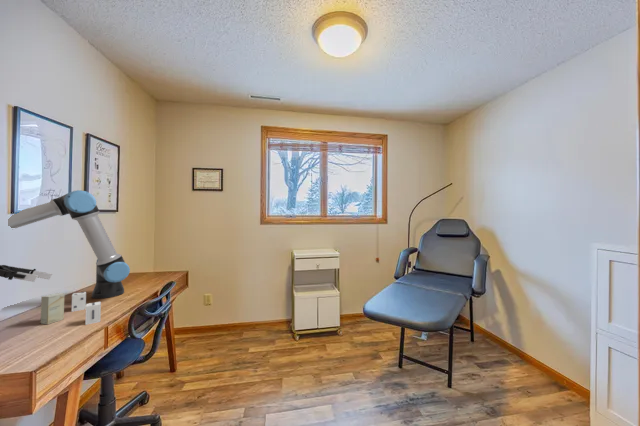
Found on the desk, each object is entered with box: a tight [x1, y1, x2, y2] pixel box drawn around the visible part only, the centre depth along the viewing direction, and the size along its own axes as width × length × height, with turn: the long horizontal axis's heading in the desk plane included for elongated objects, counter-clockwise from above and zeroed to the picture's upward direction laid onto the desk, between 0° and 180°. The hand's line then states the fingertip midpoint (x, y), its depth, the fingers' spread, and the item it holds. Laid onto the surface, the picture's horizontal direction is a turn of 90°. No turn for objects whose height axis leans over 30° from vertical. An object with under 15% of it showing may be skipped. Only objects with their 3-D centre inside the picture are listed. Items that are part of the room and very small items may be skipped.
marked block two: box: [71, 291, 87, 312], centre depth 129 cm, size 5×5×8 cm
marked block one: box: [84, 301, 102, 326], centre depth 114 cm, size 5×5×8 cm
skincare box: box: [40, 292, 65, 325], centre depth 114 cm, size 6×4×12 cm
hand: (43, 277), depth 114 cm, fingers open, 13 cm apart
